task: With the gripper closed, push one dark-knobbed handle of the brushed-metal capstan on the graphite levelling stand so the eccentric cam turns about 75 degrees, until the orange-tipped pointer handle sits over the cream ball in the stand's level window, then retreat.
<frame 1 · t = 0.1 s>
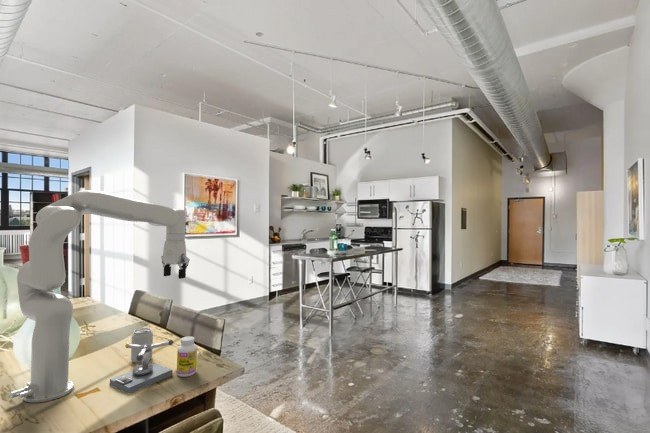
hand: (174, 277, 150), 31 cm above the table, tool pointing down, fingers open, 9 cm apart
capstan: (141, 358, 123), point 7 cm above the table, hinge at 105.0°
stand: (142, 379, 121), on the table
can: (141, 360, 138), on the table
supplement bottle: (186, 373, 127), on the table
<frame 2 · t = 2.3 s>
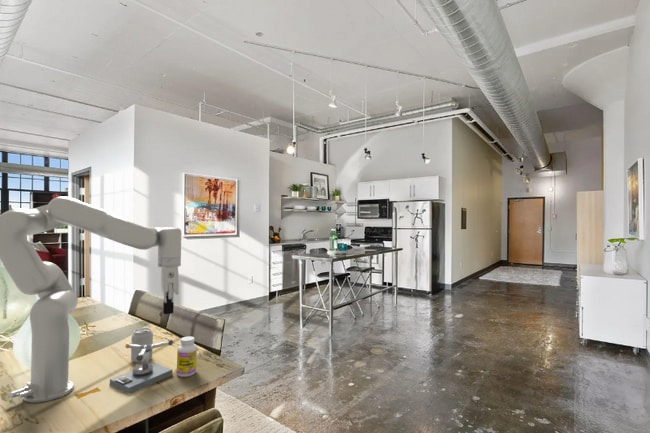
hand: (168, 313, 124), 23 cm above the table, tool pointing down, fingers closed
nothing on the table moved.
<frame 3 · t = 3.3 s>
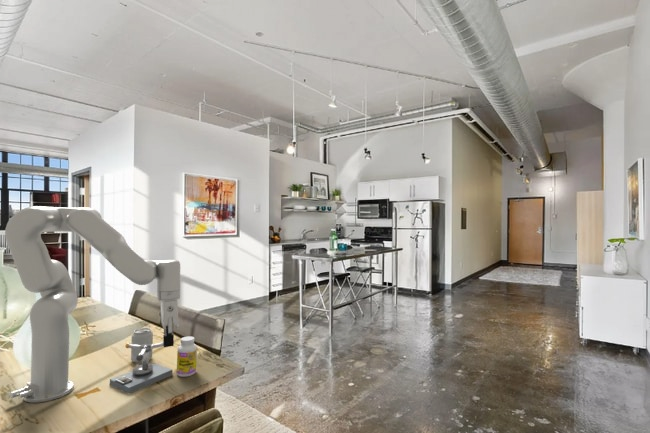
hand: (168, 345, 124), 11 cm above the table, tool pointing down, fingers closed
nothing on the table moved.
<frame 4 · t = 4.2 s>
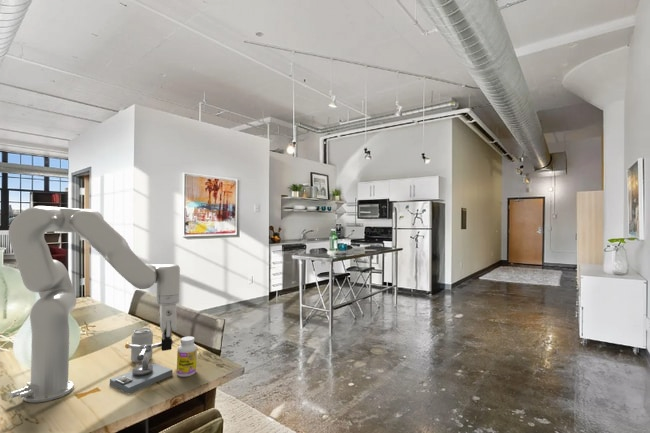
hand: (166, 349, 125), 9 cm above the table, tool pointing down, fingers closed
capstan: (141, 358, 123), point 7 cm above the table, hinge at 106.5°, touching gripper
everything else where it was.
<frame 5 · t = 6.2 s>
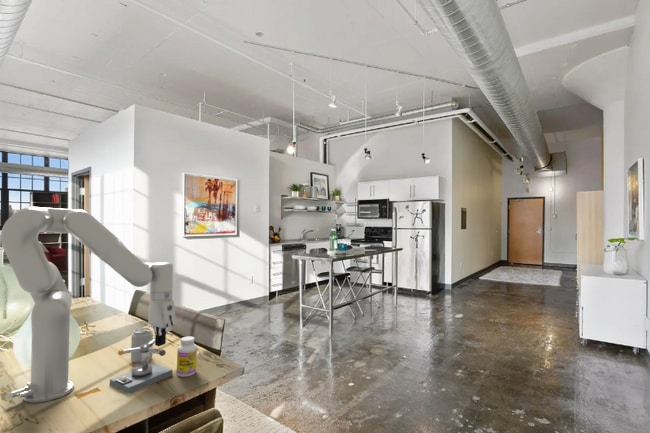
hand: (160, 344, 129), 10 cm above the table, tool pointing down, fingers closed
capstan: (140, 359, 121), point 7 cm above the table, hinge at 153.7°, touching gripper
everything else where it was.
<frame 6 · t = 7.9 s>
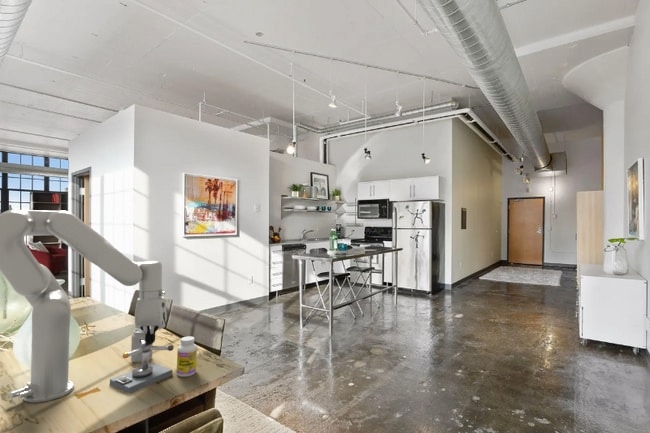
hand: (150, 343, 129), 10 cm above the table, tool pointing down, fingers closed
capstan: (141, 360, 121), point 7 cm above the table, hinge at 184.8°, touching gripper
everything else where it was.
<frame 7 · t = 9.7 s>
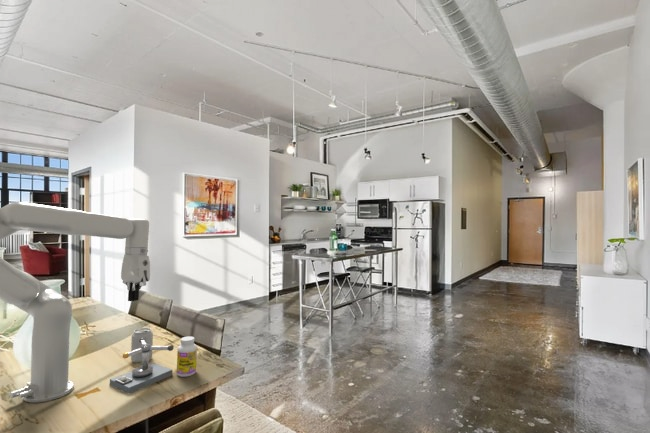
hand: (133, 300, 130), 26 cm above the table, tool pointing down, fingers closed
capstan: (141, 360, 121), point 7 cm above the table, hinge at 185.0°
everything else where it was.
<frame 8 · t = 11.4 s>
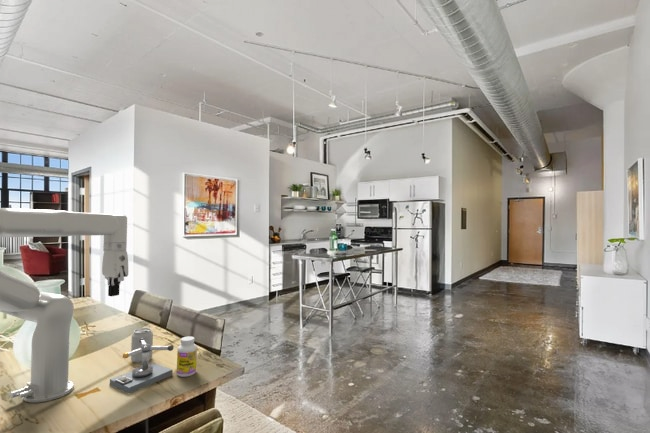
hand: (113, 295, 131), 27 cm above the table, tool pointing down, fingers closed
nothing on the table moved.
at the end: capstan at +185° (first picture: +105°); capstan touching nothing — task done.
